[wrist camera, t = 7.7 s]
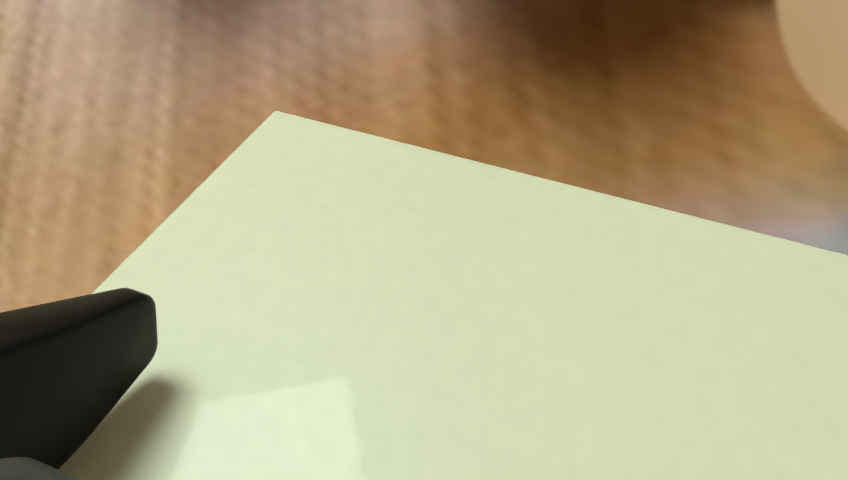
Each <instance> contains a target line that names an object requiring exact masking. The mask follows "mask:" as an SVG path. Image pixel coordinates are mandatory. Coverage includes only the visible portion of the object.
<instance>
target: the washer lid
mask: <svg viewBox="0 0 848 480" xmlns="http://www.w3.org/2000/svg"><path fill="white" fill-rule="evenodd" d="M119 288H130V289H133V290H136V291H139V292H142V293H145V294H148V295H149V296H151V297H152V298H153V300H154V302H155V305H156V319H157V337H158V345H157V350H156V353H155V355H154V357H153V359H152V360H151V362H150V363H149V364H148V366H147V367H146V368H145V369H144V371H143V372H142V373H141V374H140V375H139V377H138V378H137V379H136V380H135V382H134V383H133V384H132V385H131V386H130V388H129V389H128V390H127V391H126V393H125V394H124V395H123V396H122V397H121V399H120V400H119V401H118V402H117V403H116V405H115V406H114V407H113V408H112V410H111V411H110V412H109V413H108V414H107V416H106V417H105V418H104V419H103V421H102V422H101V423H100V424H99V425H98V427H97V428H96V429H95V430H94V432H93V433H92V434H91V435H90V436H89V437H88V438H87V440H86V441H85V442H84V443H83V444H82V445H81V447H80V448H79V449H78V450H77V451H76V452H75V453H74V454H73V455H72V456H71V457H70V458H69V459H68V460H67V461H66V462H65V463H64V464H63V465H62V466H61V467H60V468H59V469H56V468H54V467H51V466H49V465H47V464H45V463H43V462H40V461H38V460H36V459H32V458H28V457H10V458H2V459H0V480H848V255H844V254H840V253H836V252H832V251H828V250H824V249H820V248H816V247H812V246H808V245H804V244H800V243H797V242H793V241H789V240H785V239H781V238H777V237H773V236H769V235H765V234H761V233H757V232H753V231H749V230H745V229H741V228H737V227H733V226H729V225H725V224H721V223H717V222H714V221H710V220H706V219H702V218H698V217H694V216H690V215H686V214H682V213H678V212H674V211H670V210H666V209H662V208H658V207H654V206H650V205H646V204H642V203H638V202H635V201H631V200H627V199H623V198H619V197H615V196H611V195H607V194H603V193H599V192H595V191H591V190H587V189H583V188H579V187H575V186H571V185H567V184H563V183H559V182H555V181H552V180H548V179H544V178H540V177H536V176H532V175H528V174H524V173H520V172H516V171H512V170H508V169H504V168H500V167H496V166H492V165H488V164H484V163H480V162H476V161H472V160H469V159H465V158H461V157H457V156H453V155H449V154H445V153H441V152H437V151H433V150H429V149H425V148H421V147H417V146H413V145H409V144H405V143H401V142H397V141H393V140H389V139H386V138H382V137H378V136H374V135H370V134H366V133H362V132H358V131H354V130H350V129H346V128H342V127H338V126H334V125H330V124H326V123H322V122H318V121H314V120H310V119H306V118H303V117H299V116H295V115H291V114H287V113H283V112H279V111H274V112H273V113H272V114H271V115H270V116H269V117H268V118H267V119H266V120H265V121H264V122H263V123H262V124H261V125H260V126H259V127H258V128H257V129H256V130H255V131H254V132H253V133H252V134H251V135H250V136H249V137H248V138H247V139H246V140H245V141H244V142H243V143H242V144H241V145H240V146H239V147H238V148H237V149H236V150H235V151H234V152H233V153H232V154H231V155H230V156H229V157H228V158H227V159H226V160H225V161H224V162H223V163H222V164H221V165H220V166H219V167H218V168H217V169H216V170H215V171H214V172H213V173H212V174H211V175H210V176H209V177H208V178H207V179H206V180H205V181H204V182H203V183H202V184H201V185H200V186H199V187H198V188H197V189H196V190H195V191H194V192H193V193H192V194H191V195H190V196H189V197H188V198H187V199H186V200H185V201H184V202H183V203H182V204H181V205H180V206H179V207H178V208H177V209H176V210H175V211H174V212H173V213H172V214H171V215H170V216H169V217H168V218H167V219H166V220H165V221H164V222H163V223H162V224H161V225H160V226H159V227H158V228H157V229H156V230H155V231H154V232H153V233H152V234H151V235H150V236H149V237H148V238H147V239H146V240H145V241H144V242H143V243H142V244H141V245H140V246H139V247H138V248H137V249H136V250H135V251H134V252H133V253H132V254H131V255H130V256H129V257H128V258H127V259H126V260H125V261H124V262H123V263H122V264H121V265H120V266H119V267H118V268H117V269H116V270H115V271H114V272H113V273H112V274H111V275H110V276H109V277H108V278H107V279H106V280H105V281H104V282H103V283H102V284H101V285H100V286H99V287H98V288H97V289H96V290H95V291H94V292H93V293H92V294H95V293H99V292H104V291H109V290H114V289H119Z"/></svg>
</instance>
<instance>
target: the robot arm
mask: <svg viewBox="0 0 848 480" xmlns="http://www.w3.org/2000/svg"><path fill="white" fill-rule="evenodd" d="M157 345H158V337H157V319H156V305H155V302H154V300H153V298H152V297H151V296H149V295H148V294H145V293H142V292H139V291H136V290H133V289H130V288H119V289H114V290H109V291H104V292H99V293H95V294H90V295H85V296H80V297H75V298H70V299H65V300H60V301H56V302H51V303H46V304H41V305H36V306H31V307H26V308H21V309H16V310H12V311H7V312H2V313H0V459H2V458H10V457H28V458H32V459H36V460H38V461H40V462H43V463H45V464H47V465H49V466H51V467H54V468H56V469H59V468H60V467H61V466H62V465H63V464H64V463H65V462H66V461H67V460H68V459H69V458H70V457H71V456H72V455H73V454H74V453H75V452H76V451H77V450H78V449H79V448H80V447H81V445H82V444H83V443H84V442H85V441H86V440H87V438H88V437H89V436H90V435H91V434H92V433H93V432H94V430H95V429H96V428H97V427H98V425H99V424H100V423H101V422H102V421H103V419H104V418H105V417H106V416H107V414H108V413H109V412H110V411H111V410H112V408H113V407H114V406H115V405H116V403H117V402H118V401H119V400H120V399H121V397H122V396H123V395H124V394H125V393H126V391H127V390H128V389H129V388H130V386H131V385H132V384H133V383H134V382H135V380H136V379H137V378H138V377H139V375H140V374H141V373H142V372H143V371H144V369H145V368H146V367H147V366H148V364H149V363H150V362H151V360H152V359H153V357H154V355H155V353H156V350H157Z"/></svg>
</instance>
